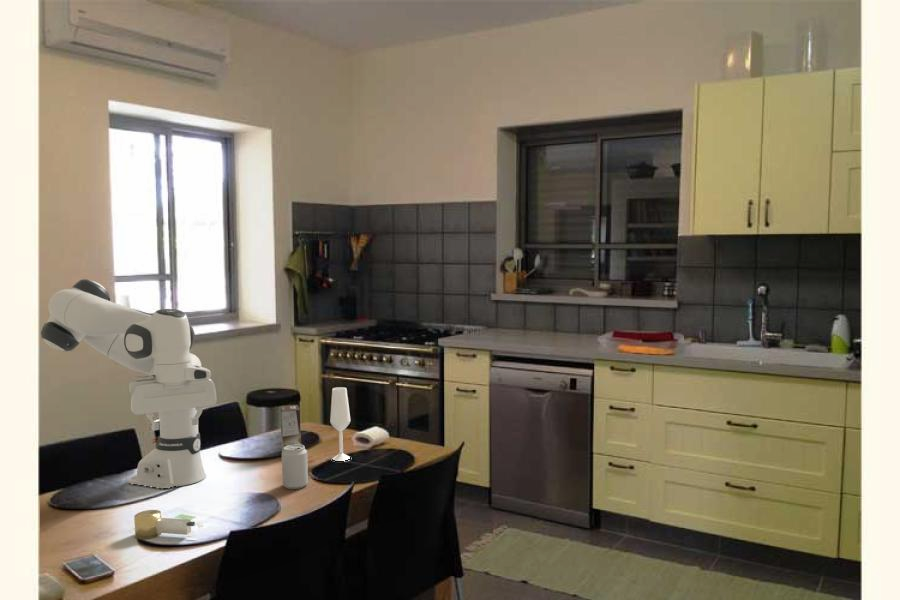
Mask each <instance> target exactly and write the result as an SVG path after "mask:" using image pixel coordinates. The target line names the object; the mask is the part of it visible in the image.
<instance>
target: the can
mask: <svg viewBox="0 0 900 600" xmlns="http://www.w3.org/2000/svg"><path fill="white" fill-rule="evenodd" d="M308 470H309V466H308V450H307V449H306V448H305V445H304V444H301V445H299V444H295V445H288V446H285V447H284V451H283V452H282V451H281V471H282V473H281V474H282V477H281V478H282V485H283V487H285V488H286V489H289V490H299V489H302V488H303V489H304V488H305V487H306V485H308V483H309V471H308Z"/></svg>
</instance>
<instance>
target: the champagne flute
mask: <svg viewBox="0 0 900 600" xmlns="http://www.w3.org/2000/svg"><path fill="white" fill-rule="evenodd" d="M329 419H330V421H329V422H330V424H331V426H332V427H333V428H334V429H335V430H336V431H338V444H339V453H338V454H337V455H335V456H334V457H332V458H331V460H332V459H333V460H335V461H344V462H346V461H345V460H348V459H350V457H351V456H349V455H347V454H345V453H344V442H343V441H344V440H343V431H344V430H346V428H347V427H348V426H349V425H350V423H351V414H350V406H349V397H348V390H347V387H344V386H343V387H342V386H340V387H339V386H338V387H333V388H332V390H331V403H330V418H329ZM335 461H334V462H335ZM348 461H349V460H348Z"/></svg>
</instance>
